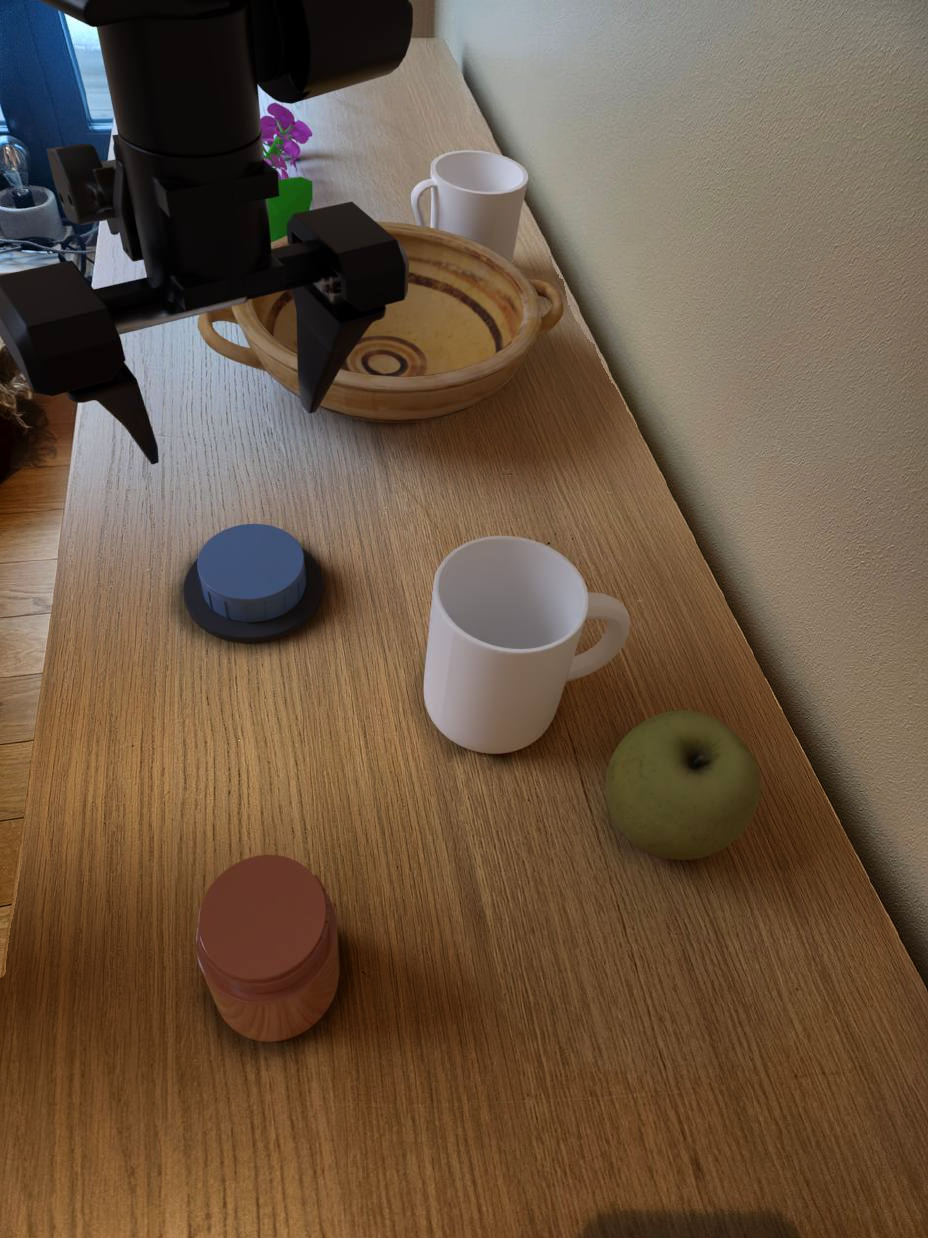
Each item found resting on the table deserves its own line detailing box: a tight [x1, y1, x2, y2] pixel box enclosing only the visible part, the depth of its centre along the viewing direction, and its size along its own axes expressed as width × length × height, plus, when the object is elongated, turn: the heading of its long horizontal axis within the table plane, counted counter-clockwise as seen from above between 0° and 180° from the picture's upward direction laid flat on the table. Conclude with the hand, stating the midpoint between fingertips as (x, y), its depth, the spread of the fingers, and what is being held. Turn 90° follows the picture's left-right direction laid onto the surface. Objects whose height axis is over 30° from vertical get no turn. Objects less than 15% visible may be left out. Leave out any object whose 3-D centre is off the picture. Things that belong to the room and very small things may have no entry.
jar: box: [194, 854, 340, 1043], centre depth 39 cm, size 6×6×8 cm
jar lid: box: [197, 523, 307, 622], centre depth 56 cm, size 7×7×2 cm
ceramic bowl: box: [196, 220, 565, 424], centre depth 70 cm, size 30×24×8 cm
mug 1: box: [410, 149, 529, 264], centre depth 81 cm, size 11×9×10 cm
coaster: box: [182, 547, 324, 644], centre depth 57 cm, size 9×9×1 cm
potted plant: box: [260, 102, 313, 243], centre depth 85 cm, size 12×16×35 cm
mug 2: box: [423, 535, 631, 755], centre depth 50 cm, size 12×8×10 cm
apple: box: [604, 709, 762, 861], centre depth 46 cm, size 8×8×7 cm
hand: (233, 433), depth 47 cm, fingers open, 9 cm apart
